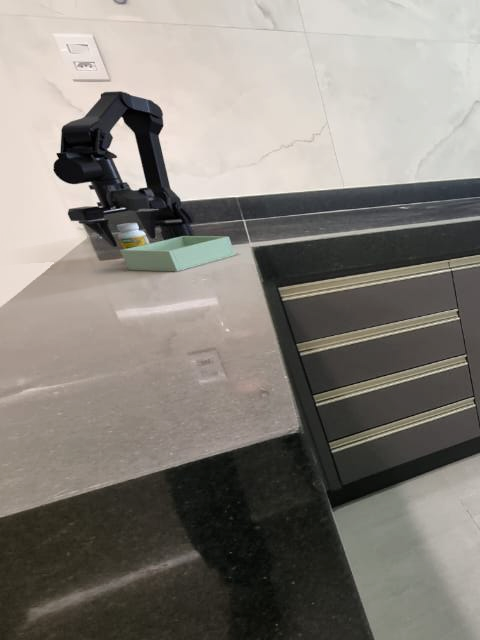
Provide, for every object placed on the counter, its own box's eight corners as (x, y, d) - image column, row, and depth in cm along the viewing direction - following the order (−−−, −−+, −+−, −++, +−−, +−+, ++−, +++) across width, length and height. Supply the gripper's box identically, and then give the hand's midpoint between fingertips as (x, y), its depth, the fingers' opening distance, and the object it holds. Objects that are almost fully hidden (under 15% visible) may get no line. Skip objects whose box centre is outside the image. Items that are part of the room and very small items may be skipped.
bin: (190, 253, 144) (182, 236, 142) (235, 254, 141) (228, 236, 139) (128, 269, 131) (119, 250, 129) (177, 271, 127) (168, 251, 125)
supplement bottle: (158, 257, 142) (142, 221, 138) (155, 261, 138) (138, 224, 134) (132, 260, 140) (115, 224, 136) (128, 264, 136) (110, 227, 132)
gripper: (86, 184, 120) (118, 252, 127) (169, 174, 136) (193, 234, 143) (51, 184, 123) (84, 251, 129) (136, 175, 139) (162, 234, 146)
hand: (134, 242), depth 137 cm, fingers open, 9 cm apart
